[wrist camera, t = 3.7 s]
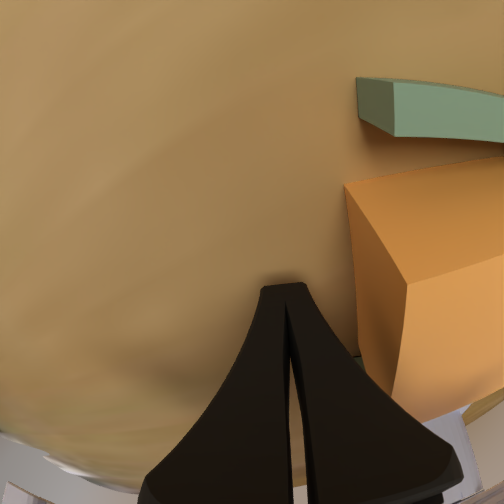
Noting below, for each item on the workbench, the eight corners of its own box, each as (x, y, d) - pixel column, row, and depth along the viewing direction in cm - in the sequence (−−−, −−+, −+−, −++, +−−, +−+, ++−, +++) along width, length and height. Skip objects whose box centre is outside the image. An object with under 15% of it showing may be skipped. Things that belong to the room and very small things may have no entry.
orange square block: (491, 298, 12) (534, 368, 8) (357, 341, 13) (381, 435, 9) (517, 152, 8) (604, 211, 4) (341, 181, 9) (407, 285, 5)
